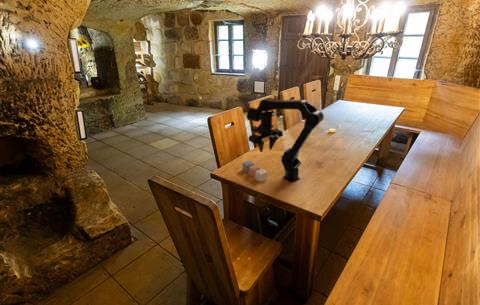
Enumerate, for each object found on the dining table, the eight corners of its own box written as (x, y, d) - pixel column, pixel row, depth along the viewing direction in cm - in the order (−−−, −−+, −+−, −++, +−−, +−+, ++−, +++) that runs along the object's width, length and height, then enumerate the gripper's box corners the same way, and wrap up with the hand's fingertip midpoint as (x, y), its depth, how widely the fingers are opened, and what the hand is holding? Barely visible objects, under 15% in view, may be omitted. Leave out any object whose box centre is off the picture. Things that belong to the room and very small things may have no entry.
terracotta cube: (260, 174, 140) (260, 167, 138) (253, 177, 138) (253, 169, 136) (255, 171, 143) (255, 164, 141) (248, 173, 141) (248, 166, 139)
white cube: (267, 179, 135) (267, 172, 133) (260, 182, 133) (260, 174, 131) (262, 176, 139) (262, 168, 137) (255, 178, 136) (255, 171, 135)
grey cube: (253, 170, 144) (253, 163, 143) (247, 172, 142) (247, 165, 140) (249, 167, 148) (249, 160, 146) (242, 169, 146) (242, 162, 144)
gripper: (270, 116, 143) (269, 142, 150) (242, 122, 134) (243, 150, 141) (284, 121, 135) (282, 148, 141) (255, 128, 126) (255, 157, 132)
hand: (265, 150), depth 139 cm, fingers open, 6 cm apart
